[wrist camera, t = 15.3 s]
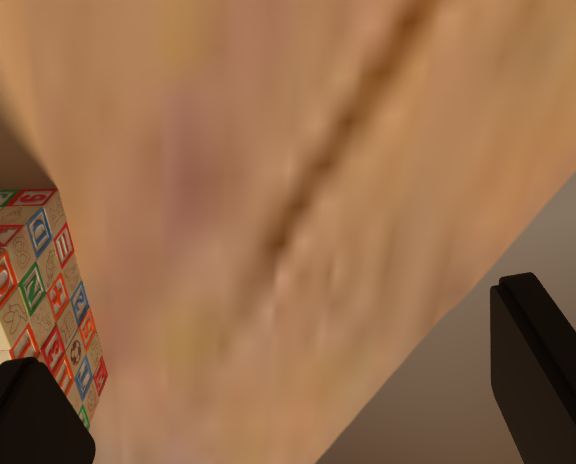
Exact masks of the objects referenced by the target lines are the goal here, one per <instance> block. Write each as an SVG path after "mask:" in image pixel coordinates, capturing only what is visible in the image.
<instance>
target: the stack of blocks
mask: <svg viewBox="0 0 576 464" xmlns="http://www.w3.org/2000/svg"><path fill="white" fill-rule="evenodd" d="M24 357H34V358H36V359H37V360H38V361H39V362H43V363H45V364H46V366H47V367H48V369H49V370H50V372H51V373H52V375H53V377H54V378H55V380H56V381H57V383H58V384H59V386H60V388H61V389H62V391H63V392H64V394H65V395H66V397H67V399H68V400H69V402H70V403H71V405H72V406H73V408H74V410H75V411H76V413H77V414H78V416H79V417H80V419H81V421H82V422H83V424H84V425H85V427H86V428H87V430H88V431H89V428H90V422H91V419H92V417H93V414H94V412H95V409H96V407H97V404H98V402H99V397H100V395H101V392H102V390H103V388H104V385H105V382H106V379H107V377H108V375H107V372H106V368H105V365H104V361H103V358H102V351H101V347H100V343H99V340H98V336H97V333H96V329H95V325H94V321H93V317H92V313H91V309H90V307H89V306H88V301H87V298H86V294H85V290H84V287H83V282H82V281H81V276H80V273H79V269H78V265H77V262H76V258H75V254H74V248H73V244H72V240H71V236H70V232H69V229H68V225H67V222H66V216H65V212H64V209H63V205H62V201H61V197H60V194H59V191H58V189H43V190H20V191H0V364H1V363H2V362H4V361H7V360H13V359H18V358H24Z"/></svg>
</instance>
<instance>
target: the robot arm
mask: <svg viewBox="0 0 576 464" xmlns="http://www.w3.org/2000/svg"><path fill="white" fill-rule="evenodd" d="M490 330H491V331H490V332H491V385H492V389H493V393H494V396H495V399H496V401H497V403H498V406H499V408H500V410H501V412H502V415H503V417H504V419H505V422H506V423H507V426H508V428H509V431H510V433H511V435H512V437H513V439H514V442H515V444H516V446H517V448H518V451H519V453H520V455H521V457H522V460H523V462H524V464H576V332H575V330H574V329H573V327H572V326H571V325H570V323H569V322H568V320H567V319H566V318H565V316H564V315H563V314H562V312H561V311H560V309H559V308H558V306H557V305H556V304H555V302H554V301H553V300H552V298H551V297H550V295H549V294H548V293H547V291H546V290H545V288H544V287H543V286H542V284H541V283H540V281H539V280H538V279H537V277H536V276H535V275H534V274H533V273H531V272H529V273H522V274H516V275H511V276H506V277H501V278H500V280H499V285H496V286H492V287H491V289H490ZM95 451H96V449H95V442H94V440H93V438H92V436H91V435H90V433H89V432H88V430H87V428H86V427H85V425H84V424H83V422H82V421H81V419H80V417H79V416H78V414H77V413H76V411H75V410H74V408H73V406H72V405H71V403H70V402H69V400H68V399H67V397H66V395H65V394H64V392H63V391H62V389H61V388H60V386H59V384H58V383H57V381H56V380H55V378H54V377H53V375H52V373H51V372H50V370H49V369H48V367H47V366H46V364H45V363H43V362H39V361H38V360H37V359H36V358H34V357H24V358H18V359H13V360H7V361H4V362H2V363H1V364H0V464H92V463H93V460H94V457H95Z"/></svg>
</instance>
